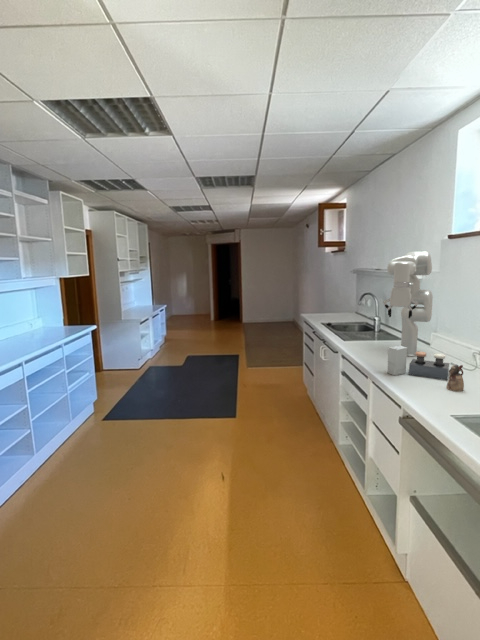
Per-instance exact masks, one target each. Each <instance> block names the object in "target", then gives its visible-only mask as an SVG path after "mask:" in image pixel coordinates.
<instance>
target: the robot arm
mask: <svg viewBox="0 0 480 640" xmlns="http://www.w3.org/2000/svg"><path fill="white" fill-rule="evenodd" d="M386 270H387V274H388V275H390V276H393V287H391V291H390V298H387V299H385V300H384V301H383V302H382V303H383V305H384V308H386V309H387V315H388V317H389V318H391V317H392V308H393V307H395V308H397V307H398V308H401V311H400V316H401V317H400V318H401V337H400V338H401V341H400V346H403V347H406V348H407V357H417V356H416V352H418V337H419V336H418V334H419V333H418V331H419V327H418V325H417V324H416V322H418V323H429V322H430V321H431V320H432V315H433V313H432V312H433V311H432V310H433V298H434V297H433V293H432V291H431V290H429V289H421V281H420V279H419V278H418V276H429V275H431V274H432V271H433V264H432V257H431V254H430V252H428V251H426V250H423V251H422V250H421V251H409V252H406V253H405V254H404V255H403V256H400V257H396V258H393V259H391V260H390V261H389V262H388V264H387V269H386ZM387 303H389V305H388V304H387ZM412 305H413V306H412ZM418 305H420V306H418ZM421 305H422V306H421Z"/></svg>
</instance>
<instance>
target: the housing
mask: <svg viewBox="0 0 480 640" xmlns="http://www.w3.org/2000/svg"><path fill="white" fill-rule="evenodd" d="M408 365H409V366H408V368H409V369H408V375H409V376H414V377H422V378H429V379H436V380H443V381H448V380H449V376H450V375H449V370H450V363H449V362H443V367H442V366H435V360H433V361H432V360H427V359H426V360H425V359H424V364H418V363H417V358H416V359H415V358H413V359H412V360H411V361H410V362H409V364H408Z"/></svg>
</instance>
